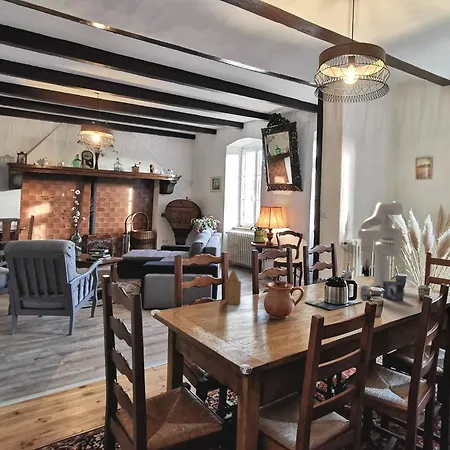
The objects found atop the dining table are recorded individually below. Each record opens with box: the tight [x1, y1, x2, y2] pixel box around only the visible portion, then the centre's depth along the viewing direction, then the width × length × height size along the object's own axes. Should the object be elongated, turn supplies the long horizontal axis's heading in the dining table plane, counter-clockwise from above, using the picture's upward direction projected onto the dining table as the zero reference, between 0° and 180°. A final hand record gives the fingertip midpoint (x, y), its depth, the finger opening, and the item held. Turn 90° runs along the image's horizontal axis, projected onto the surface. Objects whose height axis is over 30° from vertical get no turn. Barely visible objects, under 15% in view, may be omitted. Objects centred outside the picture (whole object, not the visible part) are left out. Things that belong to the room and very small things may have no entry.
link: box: [358, 284, 372, 296], centre depth 248 cm, size 6×6×5 cm
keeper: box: [360, 288, 371, 301], centre depth 234 cm, size 8×8×6 cm
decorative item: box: [224, 268, 242, 306], centre depth 216 cm, size 7×7×20 cm
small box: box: [382, 280, 405, 303], centre depth 236 cm, size 11×6×10 cm, turn 25°
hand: (365, 275), depth 247 cm, fingers open, 9 cm apart
